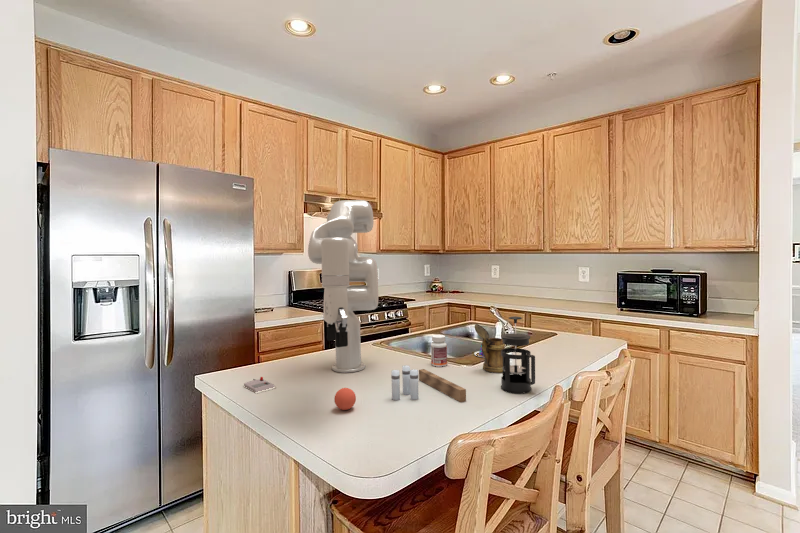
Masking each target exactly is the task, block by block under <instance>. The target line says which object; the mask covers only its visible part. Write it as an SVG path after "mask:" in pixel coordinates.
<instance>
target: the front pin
mask: <svg viewBox="0 0 800 533" xmlns="http://www.w3.org/2000/svg"><path fill="white" fill-rule="evenodd" d="M400 376H401V375H400V370H399V369H392V370H391V377H390V378H391V400H393V401H399V400H400V399H401V389H400V388H401V386H400V385H401V384H400V383H401V381H400Z"/></svg>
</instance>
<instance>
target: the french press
mask: <svg viewBox="0 0 800 533" xmlns="http://www.w3.org/2000/svg"><path fill="white" fill-rule="evenodd" d="M508 319H509V320H513V324H514V333H511V332H510V333H504V334H501V335H500V338H501V339H502V340H503V344H504V345H507V346H512V347H511V348H509V347H508V348H504V349H503V350H501V356H503V368H502V369H503V373H502V376H501V379H500V380H501V385H500V389H501V390H502V391H503V392H506V393H508V394H515V395H524V394H529V393H531V392H532V390H533V389H532V387H531V386H532V385H535V384H536V355H534V354H531V351H530V350H527V349H525V348H517V346H519V347H523V346H528V345H529V344H530V339H531V336H530V335H529V334H524V333H517V324H518V320H522V319H523V317H521V316H517V315H515V316H509V317H508ZM513 346H514V347H513ZM509 353H510V354H509ZM511 353H514V354H511ZM517 353H518V354H517ZM519 353H520V354H519ZM511 360H514V365H513V364H511ZM517 360H520V361H521V362H520V363H521V365H517Z"/></svg>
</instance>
